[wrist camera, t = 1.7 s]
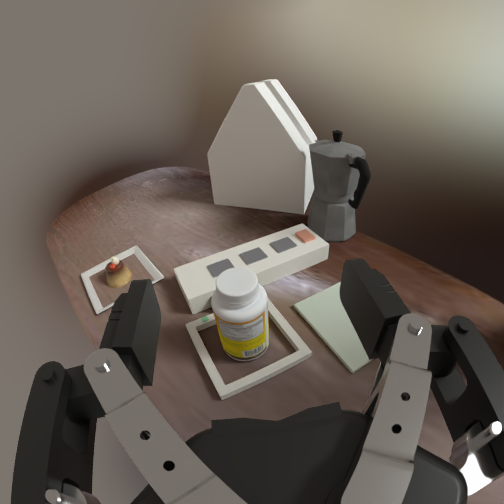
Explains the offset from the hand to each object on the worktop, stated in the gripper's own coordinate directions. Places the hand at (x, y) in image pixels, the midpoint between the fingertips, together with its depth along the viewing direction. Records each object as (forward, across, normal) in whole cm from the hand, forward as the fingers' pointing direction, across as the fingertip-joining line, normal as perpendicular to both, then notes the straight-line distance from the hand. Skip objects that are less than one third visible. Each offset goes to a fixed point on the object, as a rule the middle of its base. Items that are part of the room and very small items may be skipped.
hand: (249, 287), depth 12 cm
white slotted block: (+52, -9, +16) cm, 55 cm away
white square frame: (+13, 0, +19) cm, 23 cm away
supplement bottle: (+13, 0, +19) cm, 23 cm away
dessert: (+28, +19, +20) cm, 39 cm away
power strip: (+24, -3, +18) cm, 31 cm away
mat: (+14, -15, +18) cm, 27 cm away
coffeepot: (+34, -18, +17) cm, 42 cm away
